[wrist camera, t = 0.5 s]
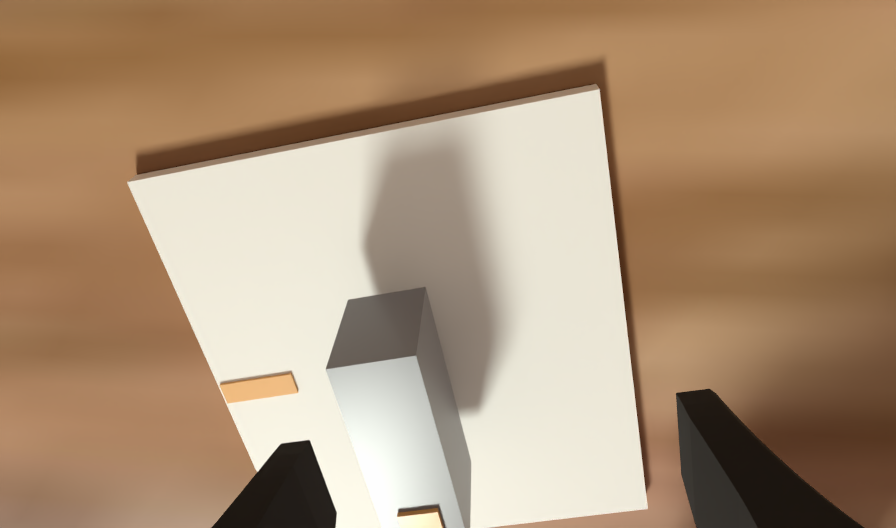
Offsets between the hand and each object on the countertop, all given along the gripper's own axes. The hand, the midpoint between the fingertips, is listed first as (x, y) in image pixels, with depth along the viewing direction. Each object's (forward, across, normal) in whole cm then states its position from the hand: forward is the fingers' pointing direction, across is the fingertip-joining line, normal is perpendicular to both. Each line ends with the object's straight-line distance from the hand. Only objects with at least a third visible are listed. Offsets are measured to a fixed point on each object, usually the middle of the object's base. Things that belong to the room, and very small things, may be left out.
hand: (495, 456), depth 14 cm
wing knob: (+9, +3, +4) cm, 10 cm away
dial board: (+10, +3, +4) cm, 11 cm away
